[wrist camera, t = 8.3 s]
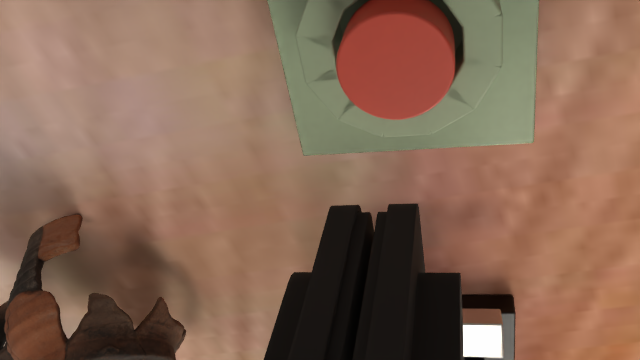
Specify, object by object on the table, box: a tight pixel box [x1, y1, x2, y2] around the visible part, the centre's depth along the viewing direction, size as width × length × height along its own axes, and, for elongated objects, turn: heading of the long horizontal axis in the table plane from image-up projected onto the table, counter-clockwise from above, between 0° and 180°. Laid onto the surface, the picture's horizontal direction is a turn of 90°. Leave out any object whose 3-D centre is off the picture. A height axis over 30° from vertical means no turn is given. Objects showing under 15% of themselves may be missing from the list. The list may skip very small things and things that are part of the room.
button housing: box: [267, 0, 539, 156], centre depth 20 cm, size 10×9×4 cm
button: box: [336, 0, 455, 120], centre depth 18 cm, size 4×4×2 cm
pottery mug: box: [0, 215, 186, 360], centre depth 32 cm, size 12×10×8 cm
